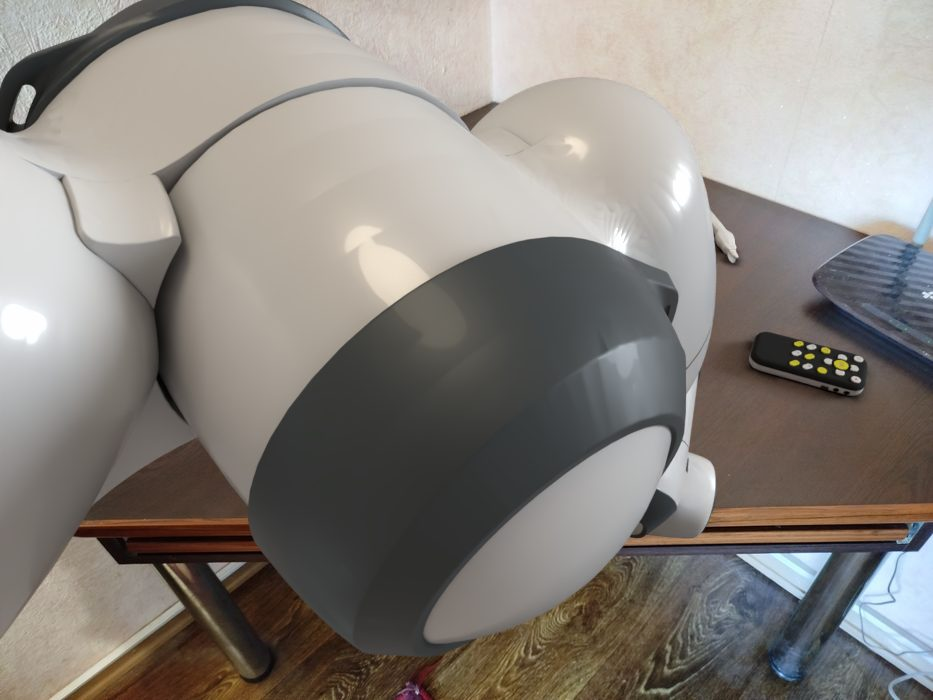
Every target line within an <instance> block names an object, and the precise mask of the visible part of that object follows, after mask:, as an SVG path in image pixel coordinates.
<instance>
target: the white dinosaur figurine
mask: <svg viewBox="0 0 933 700" xmlns="http://www.w3.org/2000/svg"><path fill="white" fill-rule="evenodd" d="M710 212H711V217H712V226H713V234H714V242H715V245H716V246H717V247H718V248H719V249H720V250H721V251H722V252H723V254H725V255H727V258H728V261H729V262H730V263H731V264H734V263H735V262H736V259H739V254H738V252H737V245H736V241H735V240H736V239H735V236H734V234H733V232H731V231H729V230H727V229H726V227H725V226H724V224H723V223H722V222H721V221H720V220H719V219H718V217H717V216H716V215H715V214H714V212H713V211H712V210H711V209H710Z"/></svg>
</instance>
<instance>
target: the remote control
mask: <svg viewBox="0 0 933 700" xmlns="http://www.w3.org/2000/svg"><path fill="white" fill-rule="evenodd" d="M748 362H749V364H750V366H751V367H752V368H753V369H755V370H756V371H759V372H762V373H767V374H770V375H774V376H778V377H781V378H784V379H789V380H792V381H795V382H799V383H803V384H805V385H810V386H812V387H817V388H820V389H823V390H827V391H831V392H835V393H837V394H841V395H845V396H858V395H860V394H861V393H862V392H863V391H864V389H865V388H866V382H867V373H868V363H867V361H866V359H865V358H864V357H863V356H861V355H859V354H856V353H852V352H848V351H845V350H842V349H836V348H833V347H829V346H825V345H822V344H818V343H814V342H810V341H806V340H802V339H798V338H794V337H791V336H787V335H783V334H779V333H775V332H772V331H761V332H759V333H758V334H756V335H755V337H754V340H753V343H752V346H751V349H750V353H749V357H748Z"/></svg>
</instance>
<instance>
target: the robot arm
mask: <svg viewBox="0 0 933 700" xmlns="http://www.w3.org/2000/svg"><path fill="white" fill-rule="evenodd" d="M24 86H30V87H32V88H33V89H34V91H35V94H34V96H33V98H32V100H31V104H30V106H29V109H28V111H27V114H26V117H25V121H24V122H23V123H17V122H15V121H14V115H15V110H16V108H17V107H16V106H17V103H18V100H19V99H18V98H19V96H20V94H21V91H22V89H23V87H24ZM710 210H711V207H710V203H709V198H708V192H707V188H706V184H705V181H704V178H703V174H702V170H701V167H700V164H699V160H698V156H697V154H696V150H695V147H694V146H693V142H692V141H691V139H690V137H689V135H688V134H687V131H686V130H685V128H684V127H683V125H682V124H681V123H680V121H678V119H677V118H676V117H675V115H674V114H673V113H672V112H671V111H670V110H669V109H668V108H667V107H666V106H665V105H663V104H662V103H661V102H660V101H658V99H655V98H653V97H652V96H651V95H649V94H647V93H646V92H644V91H642V90H641V89H638V88H636V87H634V86H632V85H630V84H627V83H624V82H620V81H617V80H613V79H608V78H600V77H590V76H589V77H588V76H579V77H578V76H577V77H564V78H557V79H552V80H548V81H546V82H541V83H538V84H535V85H533V86H529V87H528V88H527V87H526V88H525V89H523V90H521V91H518V92H517V93H515V94H513V95H511V96H510V97H507V98H506V99H504V100H502V101H501V102H500V103H498V104H497V105H496V106H495V107H493V108H492V109H491V110H490V111H489V112H488V113H486V114H485V115H484V116H483V117H482V118H481V119H480V120H479V121H478V122H477V123H476V124H475V125H474V126H473V128H472V129H471V130H470V129H469V127H468V125H467V124H466V123H465V122H464V121H463V120H462V118H461V117H460V116H459V115H458V114H457V112H456V111H455V110H454V109H453V108H451V107H450V106H449V105H447V104H446V103H445V102H444V101H442V100H441V99H440V98H439V97H437V95H434V93H432V92H430V90H428V89H426V88H425V87H424V86H423V85H421V84H420V83H419V82H417V81H416V80H414V79H413V78H412V77H411V76H409V75H407V74H406V73H404V72H403V71H401V70H400V69H398V68H396V67H395V66H393V65H392V64H390V63H389V62H387V61H385V60H384V59H383V58H381V57H380V56H378V55H376V54H374V53H372V52H371V51H369V50H367V49H365V47H362V46H360V45H358V44H357V43H354V42H353V41H351V39H350V38H349V36H347V35H346V34H345V33H344V32H343V31H342V30H341V29H340V28H339V27H338V26H337V25H335V23H334V22H332V21H330V19H328V17H325V16H324V15H322V14H321V13H319V12H318V11H316V10H314V9H312V8H311V7H308V6H307V5H304V4H302V3H300V2H297V1H295V0H138V1H136V2H134V3H132V4H130V5H128V6H127V7H125V8H123V9H122V10H120V11H118V12H117V13H115V14H113V15H112V16H111V17H109V18H108V19H106V20H105V21H103V22H102V23H100V24H99V25H98V26H97V27H96V28H94V29H93V30H92V31H90V32H88V33H85V34H82V35H79V36H76V37H74V38H70V39H68V40H66V41H63V42H60V43H57V44H54V45H51V46H48V47H46V48H42V49H40V50H37V51H35V52H32V53H30V54H28V55H26V56H25V57H23V58H21V59H20V60H19V61H17V62H16V63H15V64H13V66H11V68H10V69H9V70H7V72H6V73H5V75H4V77H3V79H2V81H1V83H0V641H1V640H2V638H3V637H4V636H5V634H6V633H7V632H8V631H9V629H10V628H11V626H13V624H14V623H15V622H16V620H17V619H18V617H19V616H20V614H21V613H22V612H23V610H24V609H25V608H26V606H27V604H28V603H29V602H30V601H31V599H32V598H33V596H34V595H35V594H36V592H37V591H38V590H39V588H40V587H41V585H42V584H43V582H44V581H45V580H46V578H47V577H48V575H49V574H50V572H51V571H52V570H53V568H55V565H56V564H57V562H58V561H59V559H60V558H61V556H62V554H63V553H64V551H65V550H66V548H67V547H68V545H69V544H70V542H71V540H72V539H73V537H74V536H75V534H76V533H77V531H78V529H79V528H80V527H81V525H82V523H83V521H84V520H85V518H86V517H87V515H88V514H89V512H90V510H91V508H92V507H93V506H94V505H95V504H96V503H97V502H98V501H100V500H101V499H102V498H103V497H104V496H106V495H107V494H108V493H109V492H111V491H112V490H114V489H115V487H117V486H118V485H120V484H121V483H123V482H124V481H125V480H127V479H128V478H129V477H131V476H133V475H134V474H135V473H137V472H138V471H140V470H141V469H143V468H145V467H146V466H148V465H149V464H151V463H152V462H154V461H156V460H158V459H159V458H160V457H163V456H164V455H166V454H168V453H170V452H172V451H173V450H175V449H177V448H180V446H183V445H185V444H187V443H189V442H191V441H193V440H195V439H197V440H198V441H199V443H200V444H201V446H202V447H203V448H204V450H205V451H206V452H207V454H208V455H209V457H210V459H212V461H213V462H214V464H215V465H216V467H217V468H218V470H219V471H220V472H221V473H222V475H223V476H224V478H225V479H226V481H227V482H228V483H229V485H230V486H231V488H232V489H233V490H234V491H235V492H236V493H237V495H238V496H239V497H240V498H241V500H242V501H243V502H244V503H245V505H246V506H247V523H248V527H249V532H250V534H251V536H252V539H253V541H254V544H255V545H256V547H257V548H258V549H259V551H261V553H262V554H263V555H264V557H265V558H266V559H267V561H269V563H270V564H271V566H272V567H273V568H274V569H275V571H276V572H277V573H278V574H279V575H280V577H281V578H282V579H283V580H284V582H286V583H287V585H288V586H289V587H290V588H291V589H292V590H293V592H295V594H297V596H298V597H299V598H300V599H301V600H302V601H303V602H304V604H305V605H306V606H308V608H309V609H310V610H312V612H314V613H315V614H316V615H317V616H318V617H319V618H320V619H321V620H322V621H323V622H324V623H325V624H326V625H327V626H329V628H330V629H332V631H334V632H335V633H336V634H337V635H339V636H340V637H341V638H342V639H344V640H345V641H346V642H348V643H349V644H351V645H352V646H353V647H354V648H356V649H357V650H358V651H360V652H362V653H364V654H368V655H380V656H381V655H382V656H397V657H415V658H416V657H417V658H430V657H435V656H439V655H443V654H445V653H448V652H452V651H454V650H456V649H459V648H460V647H463V646H465V645H467V644H469V643H471V642H473V641H475V640H476V639H481V638H485V637H489V636H491V635H495V634H497V633H501V632H504V631H508V630H511V629H513V628H516V627H518V626H521V625H523V624H525V623H527V622H529V621H531V620H533V619H535V618H538V617H539V616H542V615H543V614H546V613H547V612H549V611H551V610H552V609H554V608H556V607H557V606H559V605H561V603H563V602H565V601H566V600H567V599H569V598H570V597H572V596H573V595H575V594H576V593H577V592H578V591H580V590H581V589H582V588H584V587H585V586H586V585H588V583H589V582H591V581H592V580H593V579H594V578H595V577H596V576H597V575H598V574H599V573H600V572H601V571H602V570H603V569H604V568H605V567H606V566H607V565H608V564H609V563H610V562H611V561H612V560H613V559H614V558H615V556H616V555H617V554H618V553H619V552H620V550H621V549H622V548H623V547H624V545H625V544H626V543H627V541H629V539H630V538H631V539H643V538H644V537H646V536H652V537H661V538H674V539H695V538H697V537H698V536H700V535H701V534H702V532H704V530H705V528H707V526H708V524H709V521H710V519H711V516H712V514H713V511H714V508H715V504H716V500H717V499H716V498H717V491H718V490H717V487H718V486H717V485H718V484H717V483H718V482H717V474H716V470H715V467H714V465H713V463H712V462H711V461H710V460H709V459H707V458H705V457H704V456H701V455H699V454H696V453H693V452H690V451H689V450H690V445H691V443H690V442H691V435H692V429H693V428H692V427H693V419H694V411H695V405H696V396H697V389H698V384H699V380H700V377H701V372H702V368H703V367H702V366H703V363H704V361H705V358H706V355H707V351H708V347H709V344H710V339H711V335H712V330H713V324H714V317H715V307H716V293H717V254H716V253H717V252H716V242H715V234H714V233H713V226H712V217H711V212H710Z"/></svg>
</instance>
